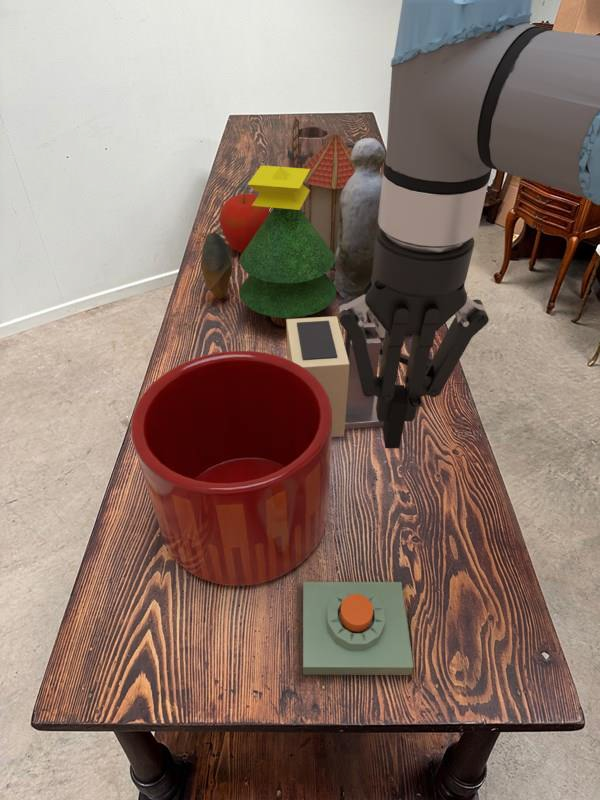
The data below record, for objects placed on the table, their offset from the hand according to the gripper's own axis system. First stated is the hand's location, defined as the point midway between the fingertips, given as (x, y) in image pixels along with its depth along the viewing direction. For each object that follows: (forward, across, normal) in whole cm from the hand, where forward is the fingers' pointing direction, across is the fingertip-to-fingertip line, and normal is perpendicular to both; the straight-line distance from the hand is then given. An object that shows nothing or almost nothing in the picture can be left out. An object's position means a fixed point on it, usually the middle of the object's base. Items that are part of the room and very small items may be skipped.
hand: (390, 438), depth 57 cm
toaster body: (+21, +8, -25) cm, 34 cm away
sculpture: (+21, -2, -65) cm, 68 cm away
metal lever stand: (+21, +1, -26) cm, 33 cm away
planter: (+21, +18, -5) cm, 28 cm away
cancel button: (+17, +3, +11) cm, 21 cm away
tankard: (+21, +5, -105) cm, 108 cm away
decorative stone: (+21, +28, -60) cm, 69 cm away
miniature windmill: (+21, +5, -82) cm, 85 cm away
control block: (+21, +3, +12) cm, 24 cm away
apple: (+21, +24, -82) cm, 88 cm away
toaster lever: (+12, -4, -27) cm, 29 cm away
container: (+21, -8, -50) cm, 55 cm away
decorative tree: (+21, +13, -54) cm, 59 cm away
